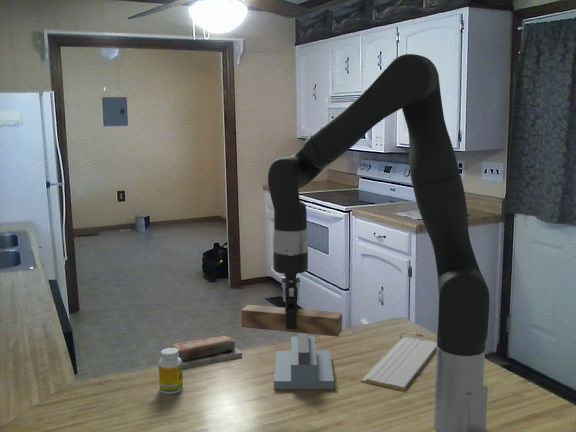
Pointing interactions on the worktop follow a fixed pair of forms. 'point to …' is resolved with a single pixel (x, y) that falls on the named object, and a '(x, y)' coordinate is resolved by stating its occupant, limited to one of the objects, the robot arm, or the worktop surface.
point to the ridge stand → (303, 366)
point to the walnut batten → (305, 320)
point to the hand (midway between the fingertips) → (291, 323)
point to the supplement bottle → (170, 371)
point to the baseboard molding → (401, 363)
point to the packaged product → (207, 351)
